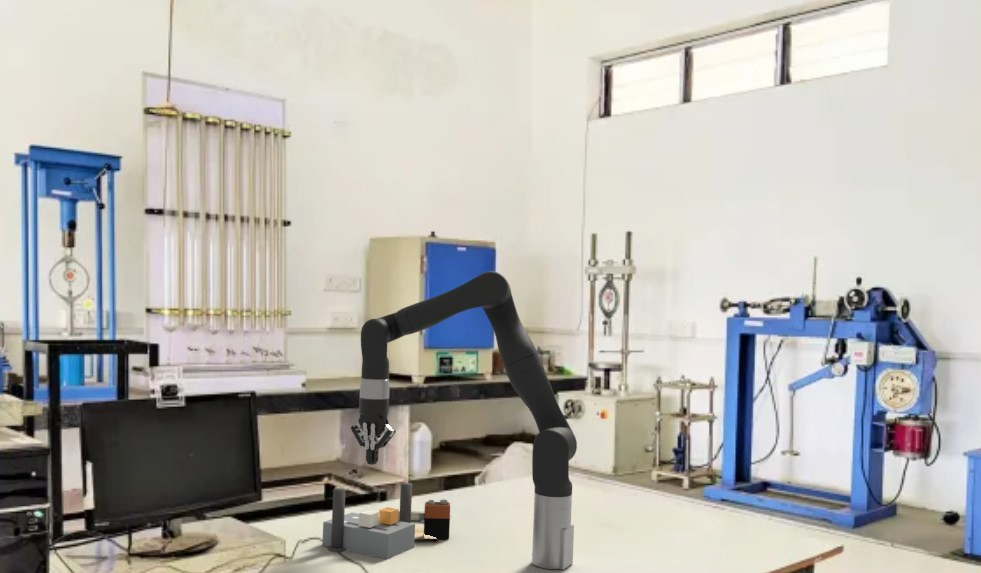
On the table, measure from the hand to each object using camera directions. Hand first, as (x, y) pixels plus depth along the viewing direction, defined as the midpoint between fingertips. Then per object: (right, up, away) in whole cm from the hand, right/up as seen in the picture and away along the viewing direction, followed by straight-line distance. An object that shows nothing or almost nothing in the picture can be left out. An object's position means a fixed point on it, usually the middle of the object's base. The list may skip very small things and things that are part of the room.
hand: (371, 463), depth 214 cm
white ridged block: (0, -15, -4) cm, 15 cm away
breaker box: (-1, -21, -1) cm, 21 cm away
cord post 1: (-8, -21, -4) cm, 23 cm away
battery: (+16, -22, +10) cm, 29 cm away
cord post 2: (+8, -21, +5) cm, 23 cm away
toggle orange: (+4, -15, -1) cm, 15 cm away
